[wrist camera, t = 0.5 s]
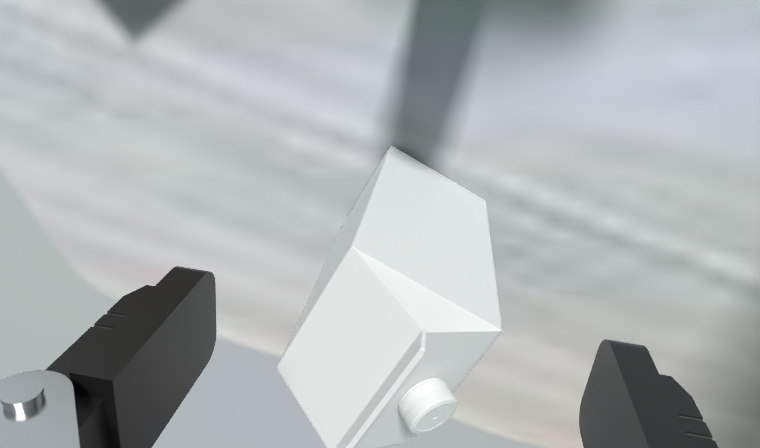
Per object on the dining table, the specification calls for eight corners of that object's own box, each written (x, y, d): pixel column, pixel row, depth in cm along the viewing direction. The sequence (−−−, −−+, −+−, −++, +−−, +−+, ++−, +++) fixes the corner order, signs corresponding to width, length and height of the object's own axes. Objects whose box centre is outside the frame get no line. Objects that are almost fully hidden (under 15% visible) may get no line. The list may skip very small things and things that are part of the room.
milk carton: (339, 230, 39) (245, 434, 22) (391, 143, 36) (330, 298, 19) (428, 280, 39) (407, 518, 22) (486, 199, 37) (513, 398, 19)
